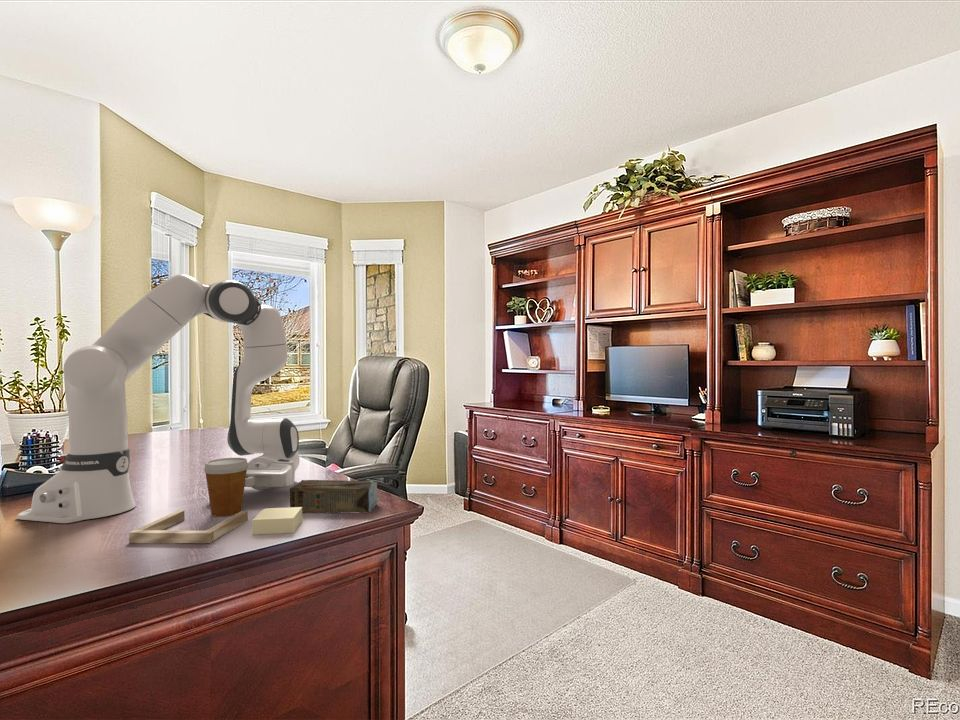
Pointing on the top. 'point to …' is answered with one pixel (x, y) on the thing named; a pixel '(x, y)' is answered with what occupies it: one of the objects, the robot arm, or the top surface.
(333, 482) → the beverage carton
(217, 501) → the disposable coffee cup
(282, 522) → the note block
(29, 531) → the top surface
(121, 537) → the top surface
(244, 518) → the frame
